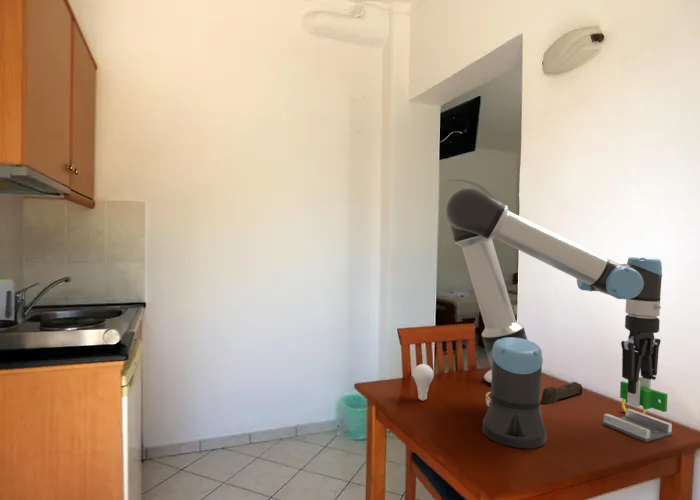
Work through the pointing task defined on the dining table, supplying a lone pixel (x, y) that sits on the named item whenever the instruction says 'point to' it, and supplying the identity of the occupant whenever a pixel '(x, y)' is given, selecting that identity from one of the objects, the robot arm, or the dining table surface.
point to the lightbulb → (423, 379)
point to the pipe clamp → (647, 397)
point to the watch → (625, 408)
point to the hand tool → (561, 392)
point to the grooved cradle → (639, 425)
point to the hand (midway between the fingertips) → (638, 403)
